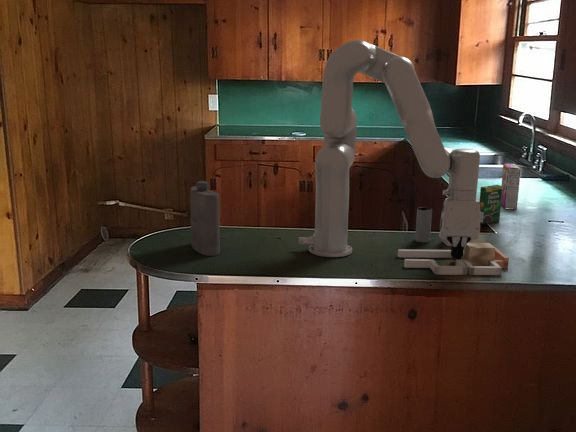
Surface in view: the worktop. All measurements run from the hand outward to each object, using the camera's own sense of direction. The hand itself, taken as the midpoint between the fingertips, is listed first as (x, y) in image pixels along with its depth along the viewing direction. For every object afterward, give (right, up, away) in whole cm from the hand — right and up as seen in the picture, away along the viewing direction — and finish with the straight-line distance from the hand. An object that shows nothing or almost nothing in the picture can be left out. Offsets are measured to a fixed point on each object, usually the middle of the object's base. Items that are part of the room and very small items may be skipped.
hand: (456, 259), depth 172 cm
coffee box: (+24, +10, +47) cm, 53 cm away
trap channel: (-1, -2, -3) cm, 3 cm away
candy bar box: (+40, +16, +73) cm, 85 cm away
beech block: (+6, -1, 0) cm, 6 cm away
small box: (+5, +3, +19) cm, 20 cm away
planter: (-5, +4, +22) cm, 22 cm away
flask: (-72, +2, +9) cm, 72 cm away
